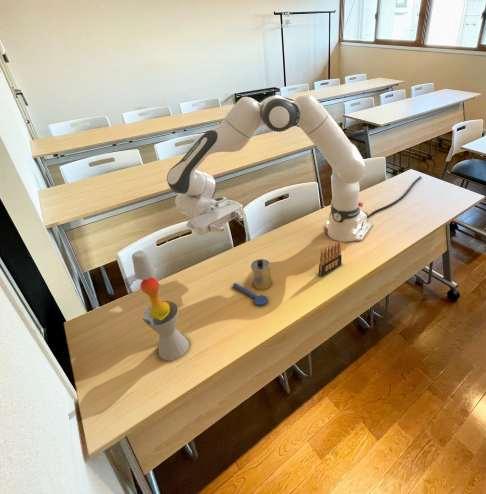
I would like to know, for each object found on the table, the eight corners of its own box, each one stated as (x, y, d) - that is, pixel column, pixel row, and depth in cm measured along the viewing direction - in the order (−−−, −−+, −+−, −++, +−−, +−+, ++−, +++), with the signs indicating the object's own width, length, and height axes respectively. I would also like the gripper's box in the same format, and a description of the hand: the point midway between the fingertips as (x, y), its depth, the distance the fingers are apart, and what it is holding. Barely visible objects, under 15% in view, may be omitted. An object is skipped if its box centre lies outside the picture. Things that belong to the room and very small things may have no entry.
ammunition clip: (338, 262, 132) (339, 237, 126) (341, 264, 131) (343, 239, 124) (318, 274, 127) (318, 248, 120) (321, 276, 126) (322, 250, 119)
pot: (262, 275, 127) (259, 254, 121) (275, 282, 123) (273, 260, 117) (249, 284, 122) (246, 262, 117) (262, 292, 119) (260, 270, 113)
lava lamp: (151, 354, 98) (109, 259, 78) (172, 332, 105) (139, 239, 85) (175, 365, 95) (138, 268, 75) (195, 341, 102) (166, 247, 81)
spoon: (229, 288, 121) (229, 285, 120) (238, 282, 124) (238, 279, 123) (261, 308, 113) (260, 305, 112) (269, 300, 115) (269, 297, 115)
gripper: (181, 216, 115) (206, 229, 108) (226, 195, 128) (252, 205, 121) (185, 231, 119) (210, 245, 112) (229, 209, 132) (254, 220, 125)
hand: (232, 224), depth 117 cm, fingers open, 8 cm apart
